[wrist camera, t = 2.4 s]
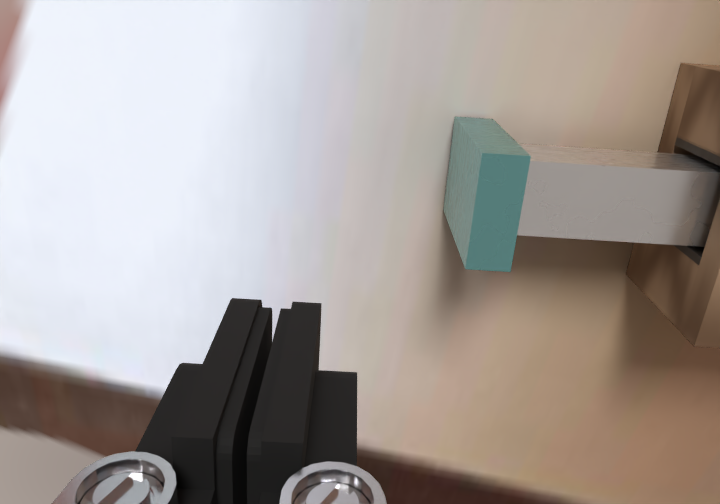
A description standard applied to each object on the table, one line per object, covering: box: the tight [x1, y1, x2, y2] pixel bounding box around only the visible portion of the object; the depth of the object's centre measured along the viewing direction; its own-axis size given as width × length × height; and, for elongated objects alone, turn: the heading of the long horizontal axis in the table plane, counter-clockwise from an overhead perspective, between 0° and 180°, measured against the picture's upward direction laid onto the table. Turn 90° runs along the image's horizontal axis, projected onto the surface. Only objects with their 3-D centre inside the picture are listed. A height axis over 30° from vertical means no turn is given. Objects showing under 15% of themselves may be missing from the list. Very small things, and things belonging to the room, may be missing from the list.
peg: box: [443, 117, 720, 272], centre depth 29 cm, size 5×14×8 cm, turn 86°
